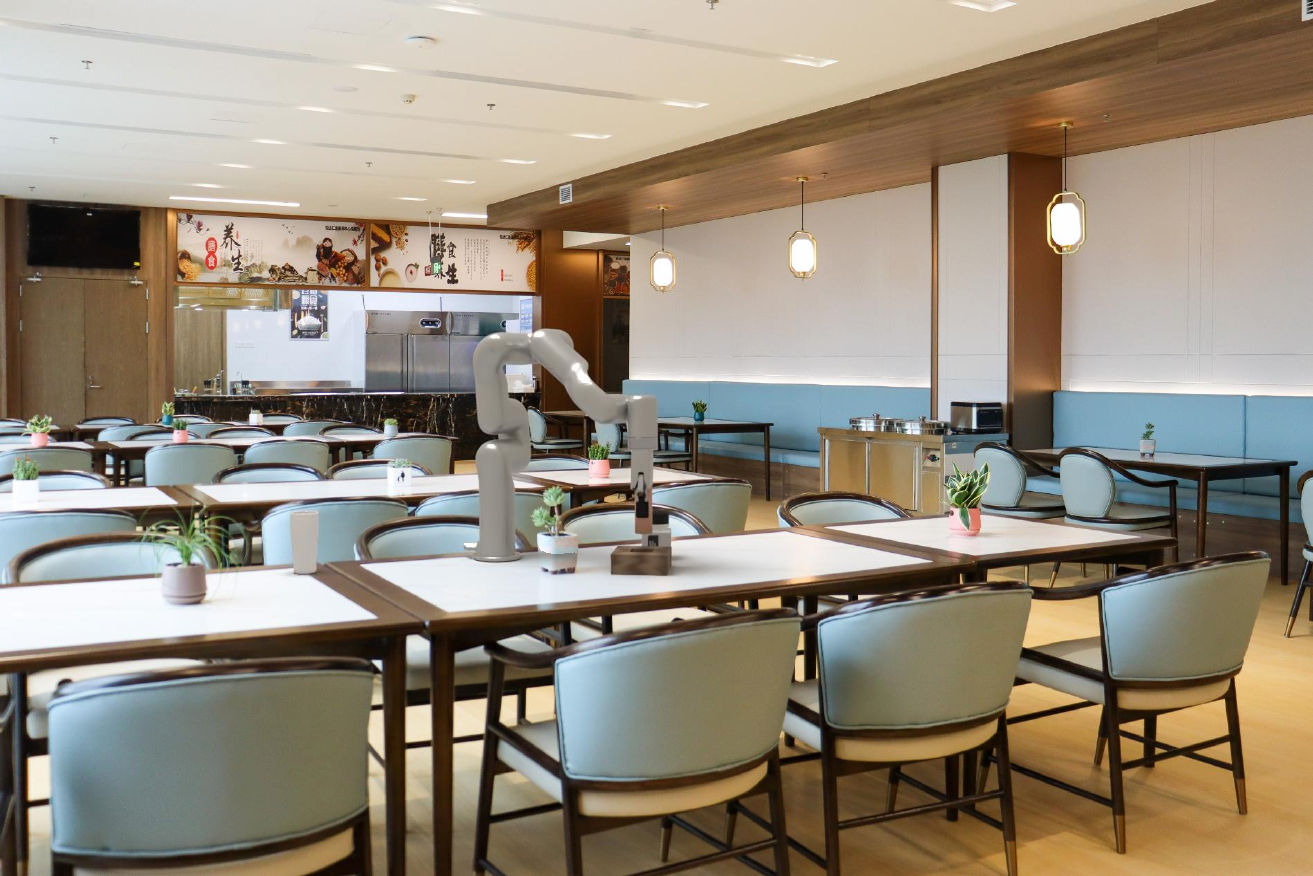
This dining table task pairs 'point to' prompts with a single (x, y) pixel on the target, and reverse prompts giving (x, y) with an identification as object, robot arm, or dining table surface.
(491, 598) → the dining table surface
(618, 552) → the socket block
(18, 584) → the dining table surface
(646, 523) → the peg
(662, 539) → the container
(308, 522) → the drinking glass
